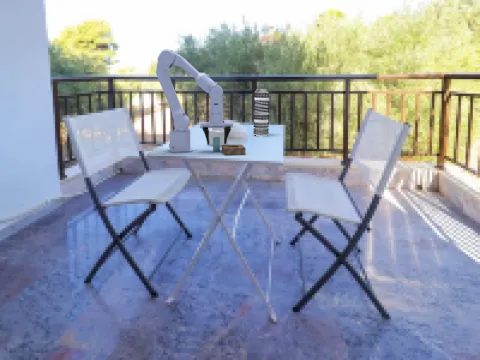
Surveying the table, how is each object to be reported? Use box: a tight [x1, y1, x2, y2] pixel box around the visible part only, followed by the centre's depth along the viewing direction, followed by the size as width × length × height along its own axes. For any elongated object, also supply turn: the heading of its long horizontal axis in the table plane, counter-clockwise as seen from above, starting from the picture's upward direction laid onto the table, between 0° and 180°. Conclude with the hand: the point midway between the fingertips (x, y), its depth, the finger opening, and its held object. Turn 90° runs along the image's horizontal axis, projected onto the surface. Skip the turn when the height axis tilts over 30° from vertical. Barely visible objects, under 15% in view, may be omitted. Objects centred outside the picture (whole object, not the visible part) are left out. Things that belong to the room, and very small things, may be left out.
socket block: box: [221, 143, 247, 156], centre depth 205 cm, size 9×9×3 cm
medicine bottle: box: [208, 120, 229, 147], centre depth 225 cm, size 7×7×12 cm
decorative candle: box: [252, 88, 271, 137], centre depth 255 cm, size 9×9×25 cm
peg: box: [212, 137, 221, 153], centre depth 210 cm, size 3×3×6 cm
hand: (216, 143), depth 210 cm, fingers open, 7 cm apart
